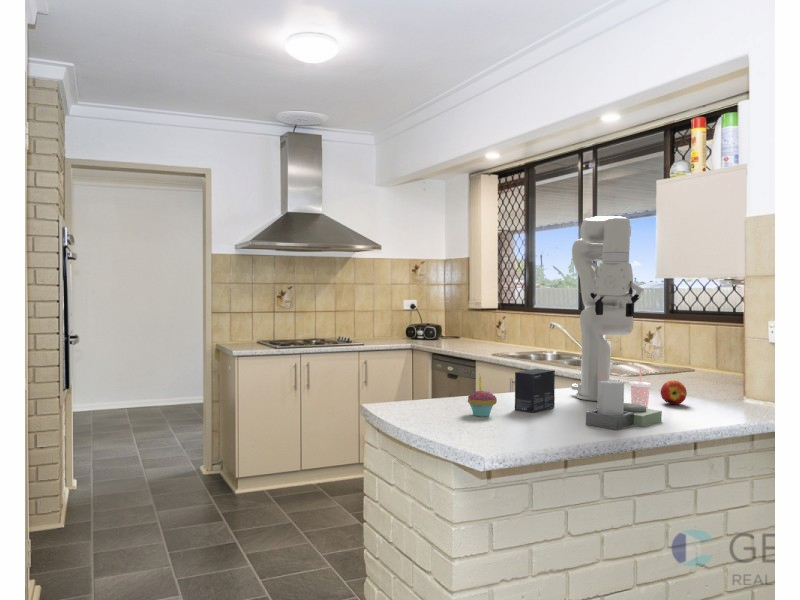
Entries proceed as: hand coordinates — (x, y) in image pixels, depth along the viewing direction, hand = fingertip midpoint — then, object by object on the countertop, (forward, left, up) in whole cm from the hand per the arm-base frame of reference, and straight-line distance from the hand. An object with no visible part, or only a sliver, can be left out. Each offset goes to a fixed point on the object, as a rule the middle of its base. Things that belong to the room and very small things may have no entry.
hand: (614, 315), depth 192 cm
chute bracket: (+7, -14, -30) cm, 34 cm away
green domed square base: (+7, -3, -30) cm, 31 cm away
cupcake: (-24, -32, -30) cm, 50 cm away
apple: (+4, +34, -30) cm, 46 cm away
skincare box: (+7, -14, -30) cm, 34 cm away
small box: (-20, -11, -30) cm, 38 cm away
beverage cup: (+3, +12, -30) cm, 33 cm away
